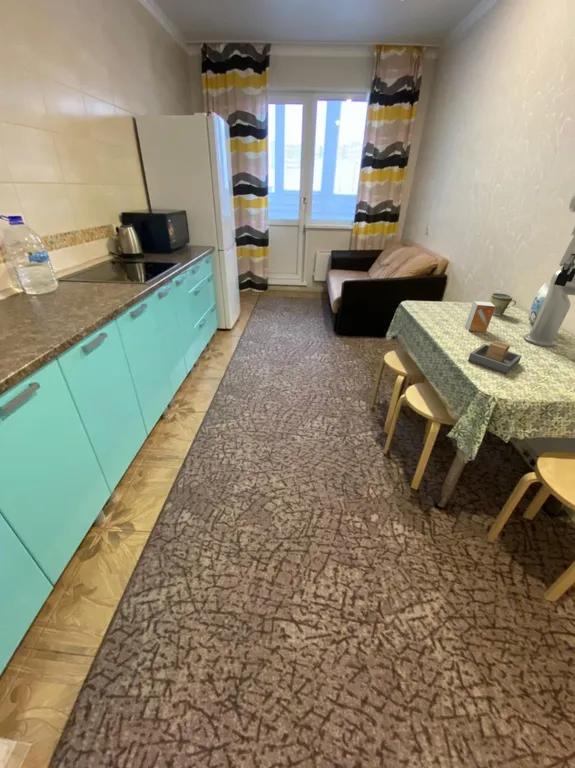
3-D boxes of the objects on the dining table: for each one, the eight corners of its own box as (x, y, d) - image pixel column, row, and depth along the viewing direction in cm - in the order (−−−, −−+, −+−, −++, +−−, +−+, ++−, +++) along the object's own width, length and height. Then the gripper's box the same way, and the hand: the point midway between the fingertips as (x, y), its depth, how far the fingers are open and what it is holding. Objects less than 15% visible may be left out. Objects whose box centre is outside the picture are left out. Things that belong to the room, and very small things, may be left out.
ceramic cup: (481, 311, 183) (487, 294, 178) (492, 309, 187) (499, 292, 182) (503, 319, 173) (511, 301, 168) (515, 316, 178) (522, 298, 172)
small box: (468, 331, 158) (477, 304, 151) (464, 326, 163) (473, 300, 156) (486, 332, 157) (496, 306, 150) (481, 327, 162) (491, 302, 155)
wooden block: (489, 356, 133) (495, 340, 129) (503, 360, 129) (510, 344, 126) (483, 360, 130) (490, 343, 126) (498, 365, 126) (505, 348, 123)
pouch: (539, 323, 171) (557, 284, 160) (546, 335, 156) (566, 294, 145) (522, 320, 173) (538, 282, 163) (526, 332, 159) (545, 291, 148)
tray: (481, 351, 138) (484, 343, 136) (518, 363, 130) (521, 355, 128) (467, 361, 130) (470, 353, 128) (505, 374, 121) (509, 366, 120)
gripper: (578, 228, 117) (556, 277, 126) (567, 231, 107) (544, 284, 116) (605, 231, 112) (580, 281, 121) (596, 234, 102) (569, 289, 111)
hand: (562, 283), depth 118 cm, fingers open, 9 cm apart
